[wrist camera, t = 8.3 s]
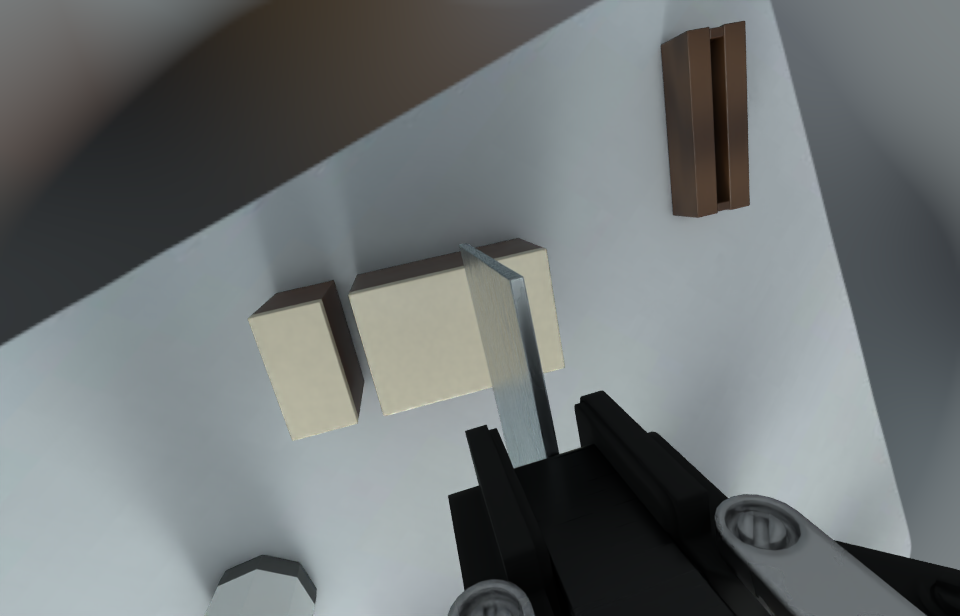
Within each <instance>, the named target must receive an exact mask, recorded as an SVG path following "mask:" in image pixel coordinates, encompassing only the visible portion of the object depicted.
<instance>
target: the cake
mask: <svg viewBox="0 0 960 616" xmlns="http://www.w3.org/2000/svg"><path fill="white" fill-rule="evenodd" d="M476 249H478V250H479V251H481V252H483V253H484V254H486V255H488V256H489V257H491V258H493V259H495V260H496V261H498V262H500V263H501V264H503V265H505V266H506V267H508V268H510V269H511V270H513V271H515V272H516V273H518V274H520V275H522V276H523V277H524V281H525V286H526V291H527V296H528V301H529V306H530V311H531V316H532V321H533V326H534V331H535V336H536V341H537V345H538V350H539V355H540V360H541V365H542V370H543V373H547V372H551V371H554V370H558V369H562V368H565V365H564V358H563V352H562V346H561V339H560V333H559V326H558V320H557V314H556V307H555V301H554V295H553V288H552V282H551V275H550V269H549V263H548V256H547V250H546V249H545V248H542V247H540V246H538V245H535V244H533V243H530V242H528V241H525V240H523V239H520V238H516V239H511V240H507V241H503V242H498V243H494V244H489V245H485V246H481V247H476ZM348 297H349V300H350V303H351V307H352V310H353V314H354V317H355V320H356V324H357V327H358V331H359V334H360V337H361V341H362V344H363V348H364V351H365V354H366V358H367V361H368V365H369V368H370V371H371V375H372V378H373V382H374V385H375V388H376V392H377V395H378V399H379V402H380V405H381V409H382V412H383V415H384V416H387V415H391V414H394V413H398V412H402V411H406V410H409V409H413V408H417V407H420V406H424V405H428V404H432V403H435V402H439V401H443V400H446V399H450V398H454V397H458V396H461V395H465V394H469V393H472V392H476V391H480V390H484V389H487V388H491V387H492V383H491V378H490V374H489V370H488V366H487V361H486V357H485V353H484V349H483V344H482V340H481V336H480V332H479V327H478V323H477V319H476V315H475V310H474V306H473V302H472V298H471V293H470V289H469V285H468V281H467V276H466V272H465V268H464V264H463V259H462V255H461V251H459V252H455V253H450V254H446V255H441V256H437V257H433V258H428V259H424V260H420V261H415V262H411V263H406V264H402V265H398V266H393V267H389V268H385V269H380V270H376V271H371V272H367V273H363V274H358V275H357V276H356V278H355V281H354V283H353V285H352V288H351V290H350V293H349V295H348Z"/></svg>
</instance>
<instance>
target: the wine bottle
mask: <svg viewBox="0 0 960 616" xmlns="http://www.w3.org/2000/svg"><path fill="white" fill-rule="evenodd" d="M315 601H316V587H315V586H314V584H313V583H312V581H311V579H310V578H309V576H308V575H307V573H306V572H305V570H304V568H303V567H302V565H301V564H300V563H298V562H294V561H289V560H284V559H279V558H275V557H270V556H265V555H261V556H259V557H256V558H254V559H252V560H250V561H247V562H245V563H243V564H241V565H238V566H236V567H234V568H231V569H229V570H227V571H226V572H225V573H224V575H223V577H222V578H221V580H220V582H219V584H218V587H217V589H216V591H215V593H214V596H213V598H212V600H211V602H210V605H209V607H208V609H207V611H206V614H205V616H313V612H314V607H315Z"/></svg>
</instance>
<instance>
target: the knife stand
mask: <svg viewBox="0 0 960 616" xmlns="http://www.w3.org/2000/svg"><path fill="white" fill-rule="evenodd" d="M661 53H662V66H663V80H664V94H665V107H666V121H667V135H668V149H669V162H670V176H671V190H672V204H673V215H675V216H686V217H696V218H699V217H703V216H707V215H711V214H716V213H718V211H722V210H732V209H737V208H741V207H745V206H749V205H750V198H749V156H748V115H747V73H746V32H745V21H740V22H734V23H729V24H724V25H722V26H720V27H716V28H710V29H709V27H706V28H700V29H695V30H689V31H686V32H684V33H682V34H680V35H679V36H677V37H675V38H673V39H671V40H669V41H667V42H666V43H664V44H662V45H661Z"/></svg>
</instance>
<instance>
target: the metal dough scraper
mask: <svg viewBox="0 0 960 616" xmlns="http://www.w3.org/2000/svg"><path fill="white" fill-rule="evenodd" d="M459 247H460V251H461V255H462V259H463V264H464V268H465V272H466V276H467V281H468V285H469V289H470V293H471V298H472V302H473V306H474V310H475V315H476V319H477V323H478V327H479V332H480V336H481V340H482V344H483V349H484V353H485V357H486V361H487V366H488V370H489V374H490V378H491V383H492V387H493V391H494V395H495V400H496V404H497V408H498V412H499V417H500V421H501V425H502V430H503V434H504V438H505V442H506V447H507V451H508V455H509V458H510V460H511V463H512V465H513V467H514V470H515V472H516V474H517V477H518V479H519V481H520V484H521V486H522V488H523V491H524V493H525V495H526V498H527V500H528V502H529V505H530V507H531V509H532V512H533V514H534V516H535V518H536V521H537V523H538V525H539V528H540V530H541V533H542V535H543V538H544V541H545V544H546V547H547V550H548V553H549V557H550V562H551V566H552V571H553V578H554V582H555V587H556V591H557V596H558V601H559V605H560V610H561V614H562V616H737V615H736V614H735V613H734V612H733V610H732V609H731V608H730V607H729V605H728V604H727V603H726V602H725V601H724V599H723V598H722V597H721V596H720V595H719V593H718V592H717V591H716V590H715V588H714V587H713V586H712V585H711V584H710V582H709V581H708V580H707V579H706V577H705V576H704V575H703V574H702V573H701V571H700V570H699V569H698V568H697V566H696V565H695V564H694V563H693V562H692V560H691V559H690V558H689V557H688V555H687V554H686V553H685V552H684V551H683V549H682V548H681V547H680V546H679V545H678V543H677V542H676V541H675V540H674V538H673V537H672V536H671V535H670V534H669V532H666V531H665V530H664V529H663V528H662V526H661V525H660V524H659V523H658V521H657V520H656V519H655V518H654V516H653V515H652V514H651V513H650V512H649V510H648V509H647V508H646V507H645V505H644V504H643V503H642V502H641V500H640V499H639V498H638V497H637V496H636V494H635V493H634V492H633V491H632V489H631V488H630V487H629V486H628V485H627V483H626V482H625V481H624V480H623V478H622V477H621V476H620V475H619V473H618V472H617V471H616V470H615V469H614V467H613V466H612V465H611V464H610V462H609V461H608V460H607V459H606V457H605V456H604V455H603V454H602V453H601V451H600V450H599V449H598V448H597V446H596V445H595V444H590V445H587V446H584V447H580V448H577V449H574V450H571V451H568V452H564V453H561V454H559V450H558V445H557V440H556V435H555V430H554V425H553V420H552V415H551V410H550V405H549V400H548V395H547V390H546V385H545V380H544V375H543V370H542V365H541V360H540V355H539V350H538V345H537V341H536V336H535V331H534V326H533V321H532V316H531V311H530V306H529V301H528V296H527V291H526V286H525V281H524V277H523V276H522V275H520V274H518V273H516V272H515V271H513V270H511V269H510V268H508V267H506V266H505V265H503V264H501V263H500V262H498V261H496V260H495V259H493V258H491V257H489V256H488V255H486V254H484V253H483V252H481V251H479V250H478V249H476V248H474V247H473V246H471V245H469V244H468V243H465V244H460V245H459Z"/></svg>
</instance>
